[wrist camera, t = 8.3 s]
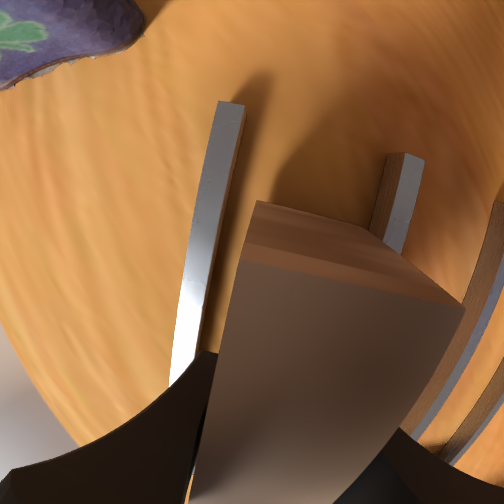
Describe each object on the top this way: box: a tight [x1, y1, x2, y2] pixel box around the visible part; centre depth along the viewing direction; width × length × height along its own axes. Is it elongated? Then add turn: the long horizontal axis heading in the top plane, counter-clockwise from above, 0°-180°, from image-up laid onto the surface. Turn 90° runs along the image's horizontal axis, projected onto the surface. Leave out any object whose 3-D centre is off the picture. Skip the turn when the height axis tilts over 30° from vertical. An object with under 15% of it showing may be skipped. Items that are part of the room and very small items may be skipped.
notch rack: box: [169, 101, 504, 475], centre depth 11 cm, size 19×17×2 cm
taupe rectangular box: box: [188, 200, 466, 504], centre depth 8 cm, size 4×10×6 cm, turn 167°
